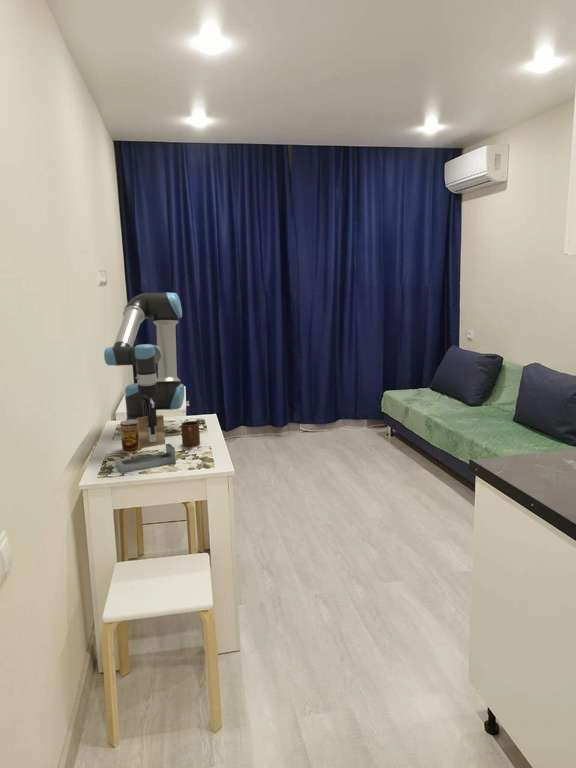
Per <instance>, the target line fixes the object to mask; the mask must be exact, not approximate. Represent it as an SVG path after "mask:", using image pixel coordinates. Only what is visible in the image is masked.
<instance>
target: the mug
mask: <svg viewBox="0 0 576 768" xmlns="http://www.w3.org/2000/svg"><path fill="white" fill-rule="evenodd" d="M180 425H181V427H180V430H181V442H182V445H183V446H184V447H196V446H197V447H198V446H199V445H200V443H201V438H200V437H201V436H200V431H201V430H200V423H199V422H198V421H194V420H193V421H192V420H191V421H190V420H189V421H184V422H182V423H181V424H180Z"/></svg>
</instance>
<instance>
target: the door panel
mask: <svg viewBox="0 0 576 768" xmlns="http://www.w3.org/2000/svg"><path fill="white" fill-rule="evenodd" d="M156 418H157V426H155V427H156V440H157V441H155V442H149V430H148V427H147V426H148V425H149V421H148V416H146V417H139V418H137V429H138V441H139V447H140V448H142V449H146V448H151V447H157V446H163V445H166V438H165V437H166V436H165V435H166V433H165V421H164V420H165V419H164V415H163V414H162V413H160V414H156Z"/></svg>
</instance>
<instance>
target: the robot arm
mask: <svg viewBox="0 0 576 768" xmlns="http://www.w3.org/2000/svg"><path fill="white" fill-rule="evenodd" d="M182 309H183V308H182V303H181V299H180V297H179V295H178V293H176V292H144V293H141V294H138V295H136V296H134V297H133V298H131V299H130V301H129V302H128V303H127V304H126V305H125V307H124V309H123V312H122V316H123V318H122V322H121V325H120V327H119V331H118V333H117V335H116V339H115V341H114V344H113V346H110V347H106V348H105V350H104V352H103V359H104V361H105V364H106V365H107V366H115V367H118V366H135V367H136V376H135V380H137V382H135V383H131V384H129V385H127V386H126V387H125V388H124V397H125V408H126V410H125V411H126V419H125V420H132V419H135V420H137V418H139V417H146V416H148V421H149V425H148V426H147V427H148V430H149V442H155V441H157V440H156V427H155V426H157V418H156V415H157V411H165V410H167V411H172V410H179V409H180V408H181V407H182V406H183V403H184V399H185V385H184V384H183V383H181V379H180V378H179V377H178V371H177V370H178V368H177V367H178V365H177V363H178V362H177V338H176V336H177V335H176V334H177V333H176V331H177V330H176V325H177V324H178V323H179V319H181V318H182V317H183V310H182ZM146 319H152V323H153V324H154V325H155V326H156V344H151V343H146V344H145V343H144V344H143V343H142V344H138V345H135V346H134V344H135V341H136V337H137V334H138V331H139V328H140V325H141V324H142V323H143V321H144V320H146ZM156 364H157V365H156ZM156 366H157V369H156Z"/></svg>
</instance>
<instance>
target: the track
mask: <svg viewBox="0 0 576 768" xmlns="http://www.w3.org/2000/svg"><path fill="white" fill-rule="evenodd" d="M165 451H166V452H163V453H158V454H157V453H156V454H150V455H146V456H141V457H140V456H139V457H134V458H127V459H121V460H116V461H115V462H116V468H117V470H119V472H120V473H126V472H127V473H128V472H133V471H138V470H143V469H149V468H154V466H155V467H160V465H161V466H165V465H171V464H176V463H177V461H176V460H177V459H176V447H174V445H172V444H171V443H165Z"/></svg>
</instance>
